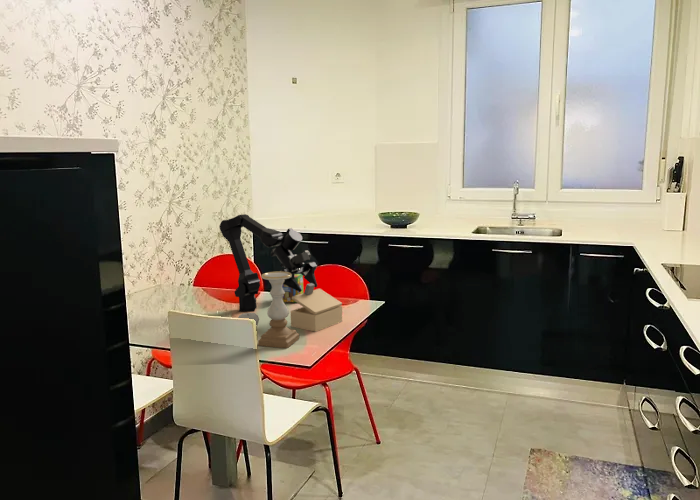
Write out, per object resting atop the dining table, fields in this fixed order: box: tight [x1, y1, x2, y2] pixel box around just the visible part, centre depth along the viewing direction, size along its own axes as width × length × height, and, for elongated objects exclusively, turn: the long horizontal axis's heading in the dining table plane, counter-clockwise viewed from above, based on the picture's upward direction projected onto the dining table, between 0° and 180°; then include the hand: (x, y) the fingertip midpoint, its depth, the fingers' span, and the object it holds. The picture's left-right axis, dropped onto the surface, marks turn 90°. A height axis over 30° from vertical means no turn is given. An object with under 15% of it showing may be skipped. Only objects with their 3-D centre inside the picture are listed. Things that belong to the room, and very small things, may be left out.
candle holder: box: [257, 270, 300, 349], centre depth 194 cm, size 11×11×24 cm
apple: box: [237, 312, 260, 326], centre depth 210 cm, size 8×8×7 cm
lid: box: [292, 283, 343, 315], centre depth 215 cm, size 12×16×5 cm
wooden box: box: [290, 305, 343, 333], centre depth 217 cm, size 12×16×6 cm
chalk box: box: [282, 273, 305, 304], centre depth 253 cm, size 9×9×15 cm
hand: (308, 289), depth 217 cm, fingers open, 9 cm apart
